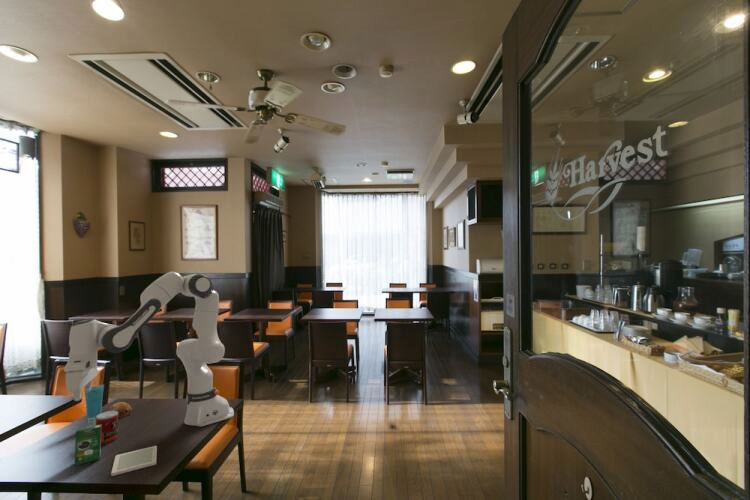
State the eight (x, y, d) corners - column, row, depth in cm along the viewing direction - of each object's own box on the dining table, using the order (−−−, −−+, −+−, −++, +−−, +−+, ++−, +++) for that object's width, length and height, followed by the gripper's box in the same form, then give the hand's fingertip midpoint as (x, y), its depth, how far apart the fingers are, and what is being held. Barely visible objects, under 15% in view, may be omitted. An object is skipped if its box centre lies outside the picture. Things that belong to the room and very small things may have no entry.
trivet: (156, 447, 147) (157, 445, 147) (156, 464, 135) (156, 461, 135) (115, 457, 140) (115, 455, 140) (111, 476, 128) (111, 473, 128)
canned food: (106, 444, 150) (106, 418, 151) (91, 443, 152) (91, 417, 152) (122, 436, 158) (122, 411, 158) (107, 434, 159) (107, 410, 160)
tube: (103, 422, 171) (103, 383, 171) (104, 426, 167) (104, 385, 168) (83, 428, 166) (83, 386, 166) (84, 431, 162) (84, 389, 163)
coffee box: (101, 456, 142) (102, 423, 142) (100, 459, 139) (101, 426, 139) (75, 462, 137) (76, 428, 138) (74, 466, 135) (74, 431, 135)
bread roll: (122, 417, 185) (116, 403, 186) (138, 409, 184) (132, 395, 185) (105, 426, 175) (99, 411, 176) (122, 418, 174) (116, 403, 175)
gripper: (83, 355, 149) (83, 388, 148) (62, 368, 130) (61, 406, 129) (102, 353, 151) (101, 386, 151) (83, 366, 132) (82, 403, 132)
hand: (82, 395), depth 140 cm, fingers open, 8 cm apart
